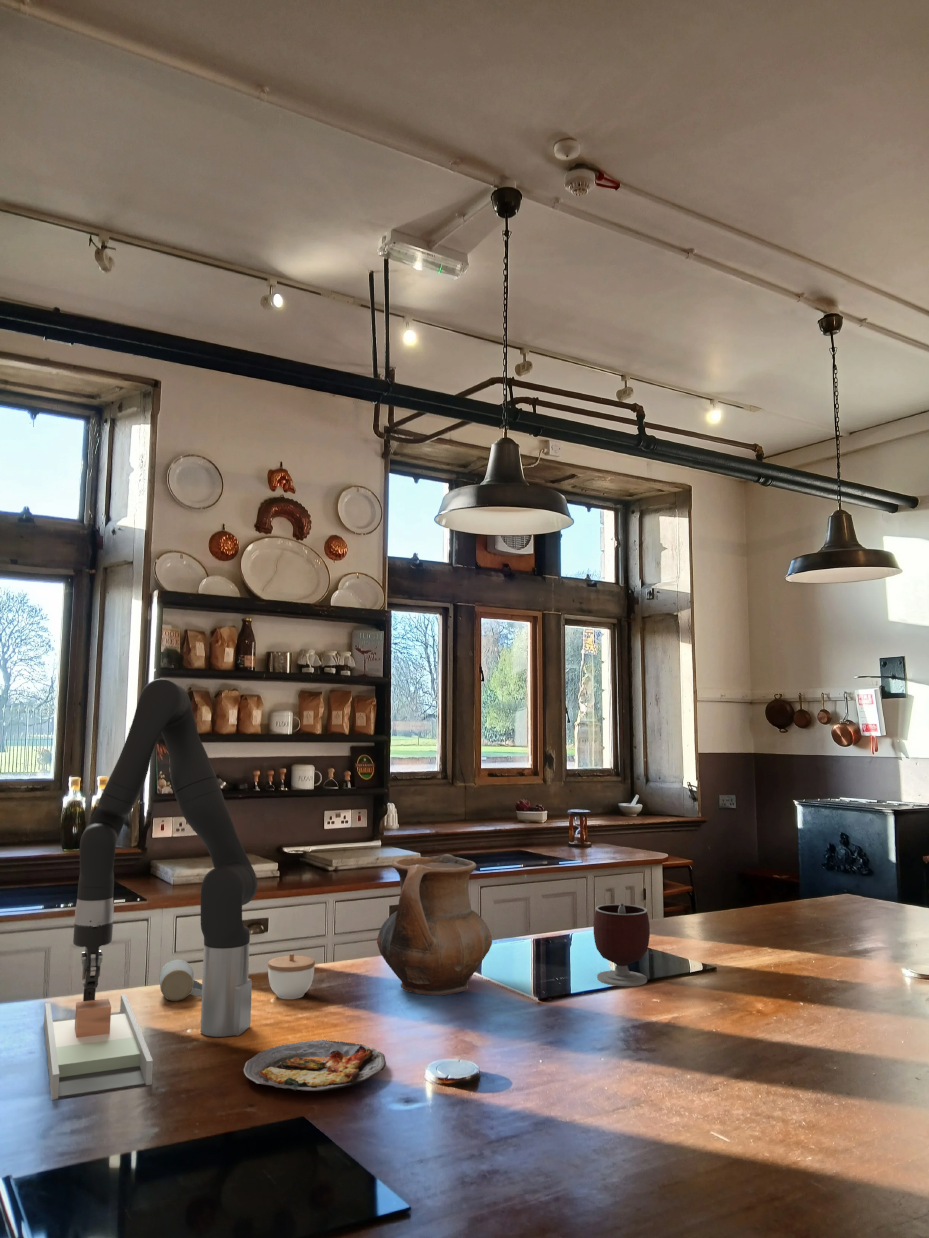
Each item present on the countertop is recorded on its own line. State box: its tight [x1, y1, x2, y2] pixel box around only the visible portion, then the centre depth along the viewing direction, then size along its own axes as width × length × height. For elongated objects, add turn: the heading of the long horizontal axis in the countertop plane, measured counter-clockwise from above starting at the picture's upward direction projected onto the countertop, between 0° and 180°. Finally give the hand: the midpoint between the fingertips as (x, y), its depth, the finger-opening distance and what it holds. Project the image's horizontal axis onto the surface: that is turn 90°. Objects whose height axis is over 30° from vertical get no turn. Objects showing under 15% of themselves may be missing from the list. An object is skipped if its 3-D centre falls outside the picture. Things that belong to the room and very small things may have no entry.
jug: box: [376, 853, 493, 996], centre depth 226 cm, size 32×28×30 cm
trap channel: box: [43, 993, 154, 1101], centre depth 178 cm, size 44×16×4 cm, turn 26°
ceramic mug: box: [158, 959, 202, 1002], centre depth 213 cm, size 11×8×8 cm
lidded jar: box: [267, 952, 316, 1000], centre depth 215 cm, size 11×11×9 cm
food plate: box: [243, 1039, 387, 1092], centre depth 167 cm, size 25×23×4 cm
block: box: [74, 998, 112, 1038], centre depth 182 cm, size 6×6×5 cm
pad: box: [56, 1037, 140, 1077], centre depth 171 cm, size 10×14×2 cm
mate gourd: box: [593, 902, 651, 987], centre depth 231 cm, size 16×14×20 cm
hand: (88, 1006), depth 191 cm, fingers closed
